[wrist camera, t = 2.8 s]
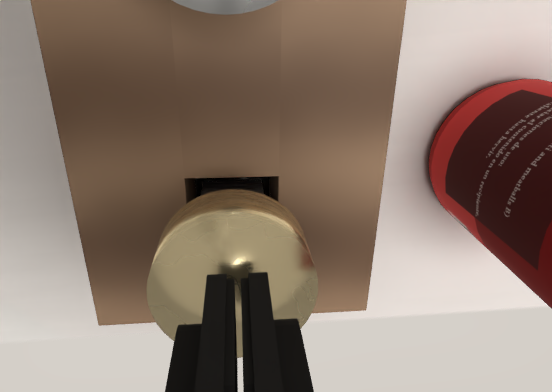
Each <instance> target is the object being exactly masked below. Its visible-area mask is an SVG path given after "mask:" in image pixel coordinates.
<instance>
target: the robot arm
mask: <svg viewBox="0 0 552 392" xmlns="http://www.w3.org/2000/svg"><path fill="white" fill-rule="evenodd" d="M241 308H242V346H243V382H244V392H314V391H313V386H312V381H311V376H310V372H309V367H308V362H307V358H306V353H305V349H304V344H303V339H302V335H301V330H300V325H299V321H298V319H297V318H294V319H276V320H274V317H273V309H272V302H271V294H270V287H269V279H268V273H267V272H256V273H248V278H241ZM237 390H238V388H237V338H236V308H235V279H227V274H210V275H207V278H206V288H205V297H204V307H203V317H202V324H184V325H178V326H177V330H176V335H175V341H174V346H173V351H172V357H171V362H170V368H169V373H168V379H167V385H166V390H165V392H238V391H237Z"/></svg>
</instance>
